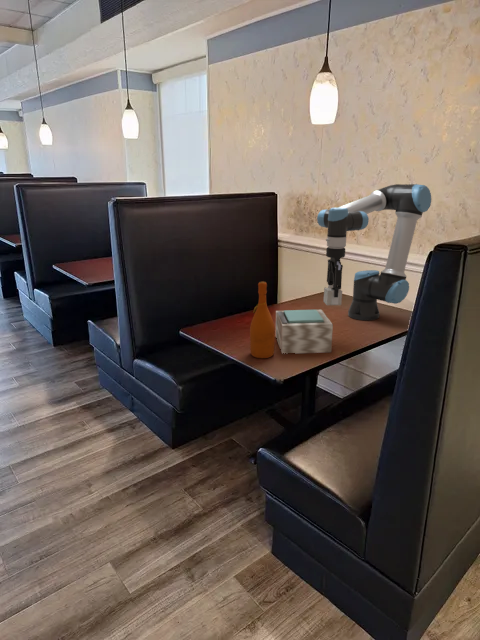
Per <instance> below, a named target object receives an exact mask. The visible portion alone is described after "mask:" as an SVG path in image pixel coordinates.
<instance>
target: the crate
mask: <svg viewBox="0 0 480 640" xmlns="http://www.w3.org/2000/svg"><path fill="white" fill-rule="evenodd" d="M316 310H317V312H318V313H319V314H320V316H321V317H322V318H323V320H324V322H311V323H289V322H288V320H287V318H286V316H285V314H284V310H275V339H276V338H277V339H276V341H277V344H278V347H279V350H280V349H281V350H280V352H281V354H282V355H289V354H288V353H295V354H317V353H318V354H319V353H332V345H333V344H332V343H333V323H332V321H331V320H330V318H328V317H327V315H326V313H325V312H324V310H322V308H321V309H316ZM283 353H284V354H283ZM285 353H286V354H285Z"/></svg>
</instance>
